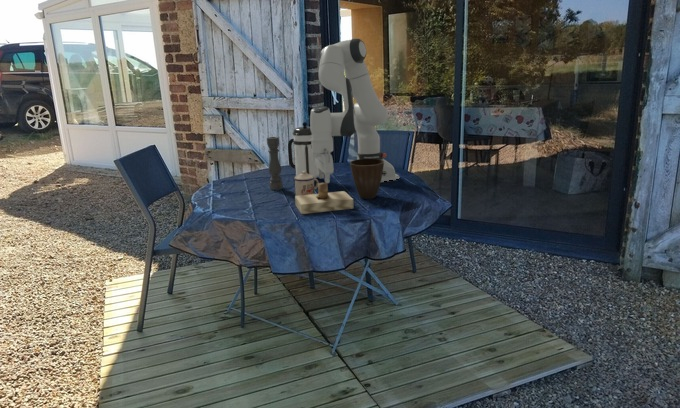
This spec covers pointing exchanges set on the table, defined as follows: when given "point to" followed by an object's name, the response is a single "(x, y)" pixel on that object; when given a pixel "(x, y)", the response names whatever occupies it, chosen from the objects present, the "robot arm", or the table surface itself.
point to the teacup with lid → (305, 184)
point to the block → (323, 202)
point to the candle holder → (274, 163)
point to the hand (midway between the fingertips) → (324, 180)
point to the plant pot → (367, 176)
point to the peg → (323, 191)
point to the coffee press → (302, 152)
